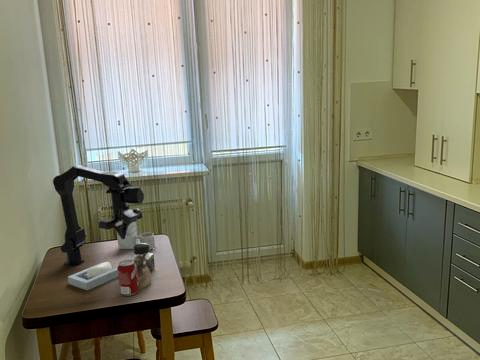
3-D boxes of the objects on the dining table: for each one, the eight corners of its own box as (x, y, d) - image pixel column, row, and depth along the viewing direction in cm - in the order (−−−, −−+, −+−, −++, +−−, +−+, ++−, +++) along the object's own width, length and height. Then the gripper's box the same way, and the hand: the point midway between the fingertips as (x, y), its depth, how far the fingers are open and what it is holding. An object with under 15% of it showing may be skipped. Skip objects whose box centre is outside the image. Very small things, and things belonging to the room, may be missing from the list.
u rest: (68, 283, 189) (67, 276, 189) (104, 268, 203) (103, 262, 202) (87, 290, 182) (86, 283, 182) (122, 274, 195) (121, 267, 195)
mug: (157, 246, 227) (155, 232, 226) (152, 251, 221) (150, 237, 219) (137, 245, 229) (135, 232, 228) (131, 250, 223) (130, 237, 221)
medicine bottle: (148, 276, 192) (145, 247, 190) (132, 275, 194) (129, 247, 191) (155, 269, 199) (152, 241, 197) (139, 268, 201) (136, 241, 198)
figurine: (131, 282, 187) (128, 253, 185) (149, 278, 190) (146, 249, 188) (135, 289, 181) (131, 259, 178) (153, 285, 184) (150, 255, 181)
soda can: (129, 298, 174) (126, 267, 171) (116, 294, 177) (112, 264, 175) (142, 290, 179) (139, 260, 177) (129, 287, 183) (126, 257, 180)
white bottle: (107, 273, 199) (82, 284, 190) (103, 262, 199) (78, 272, 190) (113, 272, 196) (89, 282, 187) (109, 260, 196) (85, 271, 187)
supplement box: (118, 249, 226) (115, 223, 223) (124, 243, 233) (121, 218, 230) (132, 249, 224) (130, 223, 222) (138, 244, 231) (136, 218, 229)
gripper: (113, 211, 187) (117, 249, 190) (149, 200, 201) (152, 235, 205) (95, 207, 194) (100, 244, 197) (131, 197, 208) (135, 231, 211)
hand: (123, 239), depth 202 cm, fingers closed
